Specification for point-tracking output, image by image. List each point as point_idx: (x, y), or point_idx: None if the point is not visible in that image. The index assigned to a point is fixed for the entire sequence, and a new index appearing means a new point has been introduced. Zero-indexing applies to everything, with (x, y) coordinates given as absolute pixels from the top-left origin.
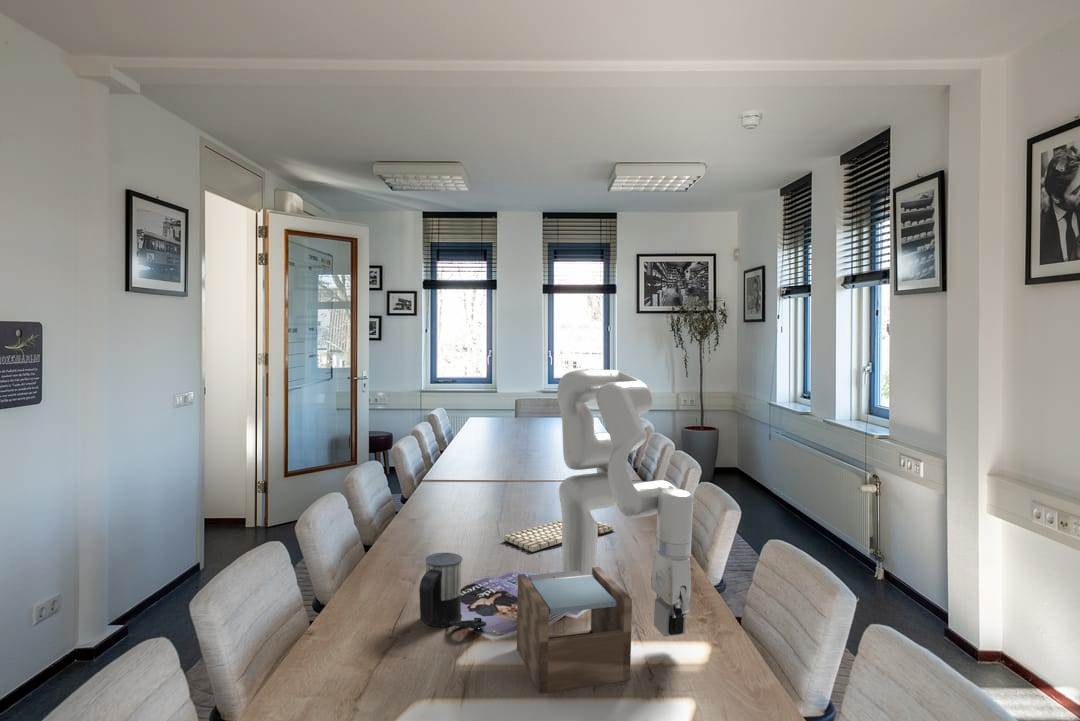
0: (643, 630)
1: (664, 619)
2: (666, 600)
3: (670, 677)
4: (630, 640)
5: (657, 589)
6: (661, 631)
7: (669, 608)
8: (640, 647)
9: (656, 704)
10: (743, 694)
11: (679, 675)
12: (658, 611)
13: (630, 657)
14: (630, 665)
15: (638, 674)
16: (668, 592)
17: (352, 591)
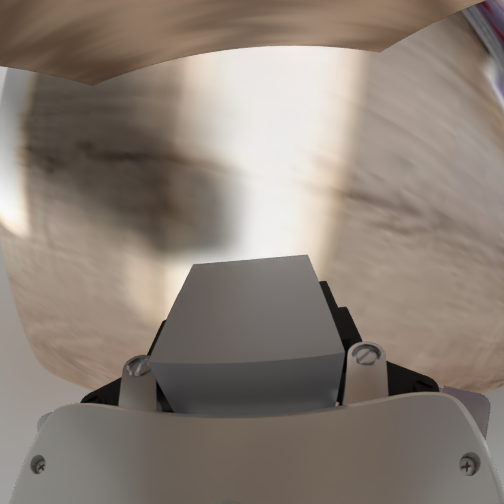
0: (398, 231)
1: (179, 311)
2: (87, 420)
3: (93, 211)
4: (1, 63)
5: (296, 464)
6: (221, 266)
7: (170, 387)
8: (291, 172)
9: (10, 144)
10: (59, 339)
11: (103, 241)
12: (268, 314)
13: (48, 73)
14: (66, 78)
15: (113, 114)
16: (44, 482)
17: None
